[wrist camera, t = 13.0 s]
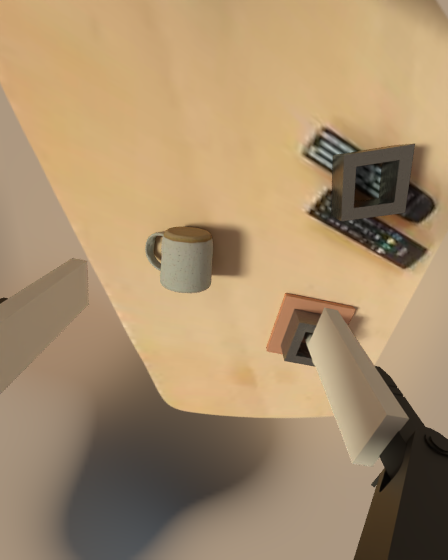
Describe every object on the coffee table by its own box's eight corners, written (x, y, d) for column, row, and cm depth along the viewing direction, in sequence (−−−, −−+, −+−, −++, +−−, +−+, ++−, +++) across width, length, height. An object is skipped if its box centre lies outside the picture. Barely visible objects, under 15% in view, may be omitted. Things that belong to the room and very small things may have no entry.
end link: (294, 308, 44) (299, 322, 40) (339, 317, 44) (348, 331, 41) (280, 345, 47) (284, 360, 44) (322, 353, 48) (329, 369, 44)
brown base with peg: (285, 292, 44) (297, 325, 35) (353, 306, 44) (380, 341, 36) (266, 347, 49) (272, 387, 41) (327, 359, 50) (345, 400, 41)
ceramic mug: (216, 226, 40) (211, 241, 33) (213, 275, 43) (207, 298, 36) (147, 220, 40) (127, 233, 33) (149, 269, 43) (132, 291, 36)
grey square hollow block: (332, 155, 35) (343, 155, 31) (395, 145, 34) (414, 143, 30) (331, 215, 38) (341, 221, 34) (388, 207, 37) (404, 212, 34)
